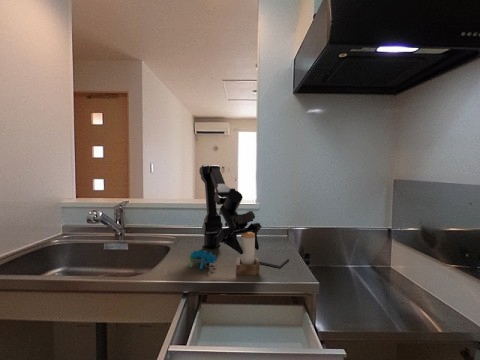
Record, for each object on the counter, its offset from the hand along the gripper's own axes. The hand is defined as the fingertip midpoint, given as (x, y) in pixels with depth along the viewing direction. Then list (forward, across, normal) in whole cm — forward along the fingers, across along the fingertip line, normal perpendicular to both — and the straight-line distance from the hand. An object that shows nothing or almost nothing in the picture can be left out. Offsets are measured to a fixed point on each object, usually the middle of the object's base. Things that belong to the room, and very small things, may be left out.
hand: (250, 251), depth 101 cm
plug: (+4, 0, +6) cm, 8 cm away
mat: (+4, +15, +7) cm, 17 cm away
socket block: (+4, 0, +6) cm, 8 cm away
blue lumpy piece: (-6, -10, +17) cm, 21 cm away
